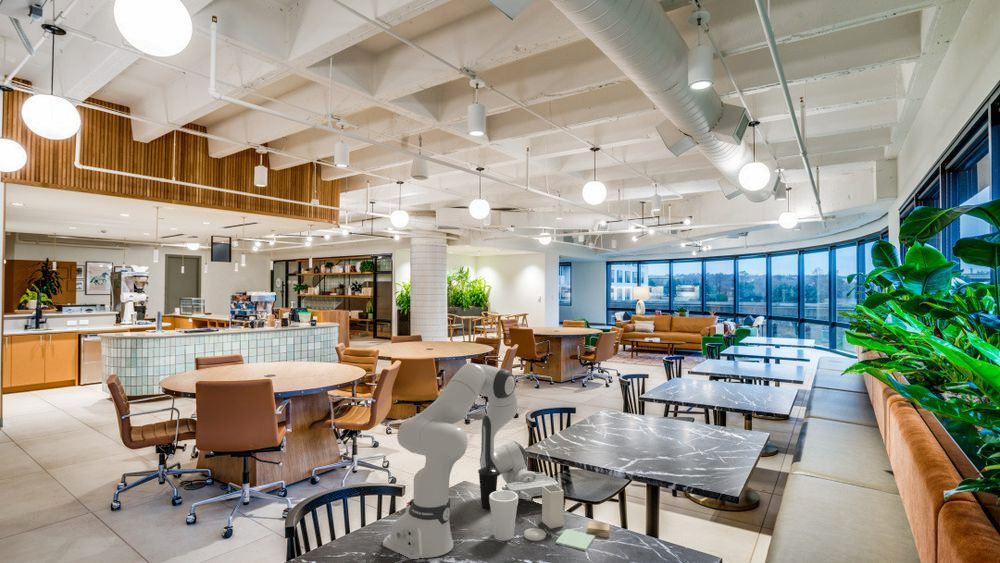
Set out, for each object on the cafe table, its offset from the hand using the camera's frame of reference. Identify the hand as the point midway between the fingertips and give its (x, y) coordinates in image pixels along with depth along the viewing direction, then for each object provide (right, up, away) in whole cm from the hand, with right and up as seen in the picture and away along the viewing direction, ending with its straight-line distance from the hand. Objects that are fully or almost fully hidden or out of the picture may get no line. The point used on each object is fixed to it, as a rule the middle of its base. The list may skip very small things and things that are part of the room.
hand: (541, 496), depth 181 cm
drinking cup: (-19, -7, +5) cm, 21 cm away
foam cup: (-14, -6, -17) cm, 23 cm away
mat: (+9, -6, -20) cm, 23 cm away
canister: (+3, -6, -8) cm, 10 cm away
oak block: (+18, -6, -14) cm, 24 cm away
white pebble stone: (-4, -6, -17) cm, 18 cm away
